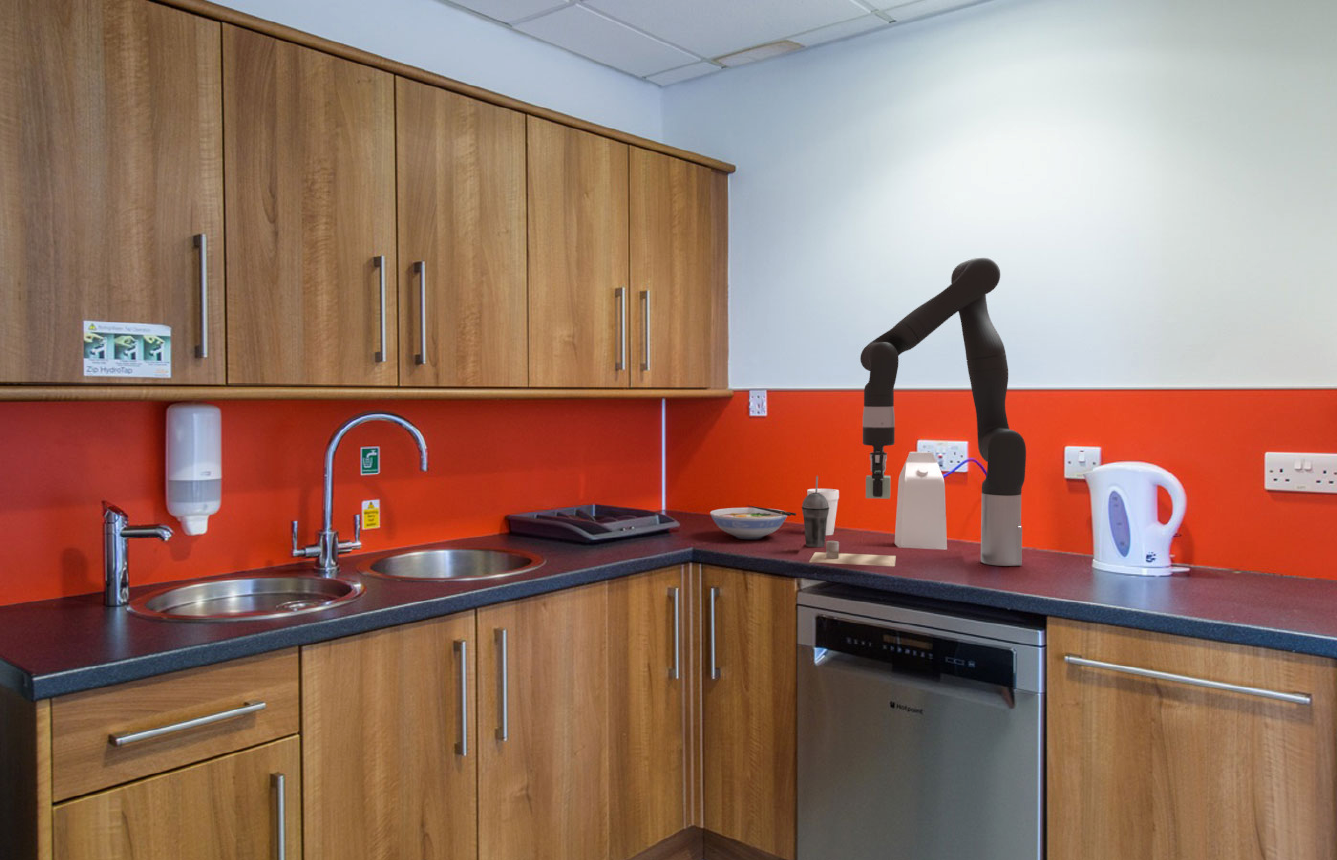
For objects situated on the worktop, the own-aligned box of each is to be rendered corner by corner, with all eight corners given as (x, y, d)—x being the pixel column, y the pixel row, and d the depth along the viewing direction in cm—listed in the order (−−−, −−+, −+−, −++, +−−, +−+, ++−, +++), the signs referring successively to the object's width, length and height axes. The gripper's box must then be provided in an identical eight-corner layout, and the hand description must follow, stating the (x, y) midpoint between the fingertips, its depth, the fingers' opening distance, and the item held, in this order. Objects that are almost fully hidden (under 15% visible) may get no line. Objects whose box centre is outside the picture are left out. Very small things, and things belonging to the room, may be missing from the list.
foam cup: (801, 532, 275) (801, 489, 274) (829, 530, 277) (829, 488, 277) (815, 536, 266) (816, 492, 265) (844, 535, 268) (844, 491, 268)
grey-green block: (890, 496, 222) (890, 475, 222) (889, 498, 216) (889, 477, 216) (866, 495, 223) (867, 475, 223) (865, 498, 218) (865, 477, 218)
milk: (938, 544, 253) (939, 450, 252) (947, 551, 241) (948, 453, 240) (894, 543, 254) (895, 450, 253) (901, 550, 243) (902, 453, 242)
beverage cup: (797, 552, 240) (797, 476, 239) (806, 548, 246) (807, 474, 245) (824, 554, 236) (824, 478, 236) (832, 550, 243) (833, 475, 242)
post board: (895, 561, 226) (896, 539, 226) (894, 572, 213) (894, 549, 212) (814, 558, 231) (815, 536, 231) (808, 568, 218) (809, 545, 218)
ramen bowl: (694, 534, 271) (694, 506, 270) (760, 529, 280) (760, 502, 280) (735, 547, 248) (735, 517, 248) (806, 541, 258) (806, 512, 257)
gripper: (894, 426, 211) (893, 499, 212) (895, 424, 225) (894, 492, 226) (861, 426, 213) (860, 498, 214) (864, 424, 227) (863, 491, 228)
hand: (878, 494), depth 220 cm, fingers closed on grey-green block, 5 cm apart
